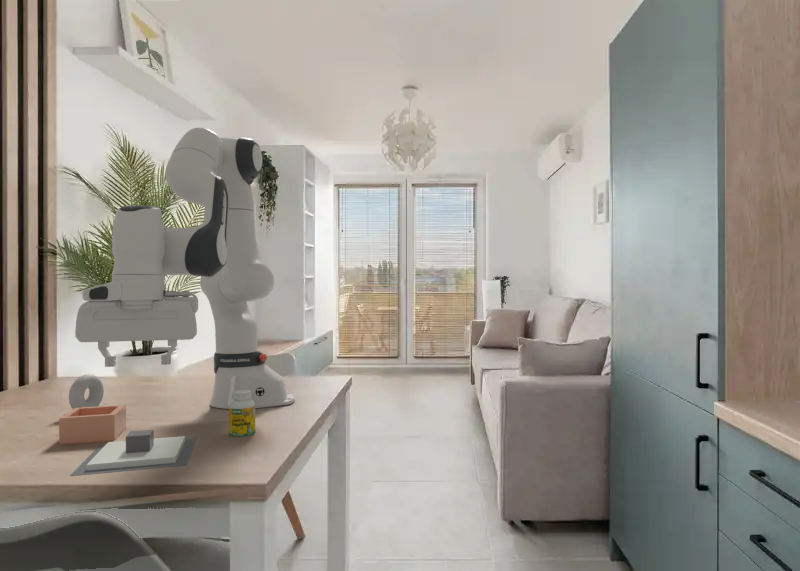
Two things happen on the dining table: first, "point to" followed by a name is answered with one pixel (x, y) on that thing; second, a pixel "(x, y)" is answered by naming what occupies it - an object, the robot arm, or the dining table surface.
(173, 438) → the box lid
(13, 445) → the dining table surface
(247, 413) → the supplement bottle
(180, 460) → the mat
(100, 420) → the orange open box
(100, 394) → the donut
